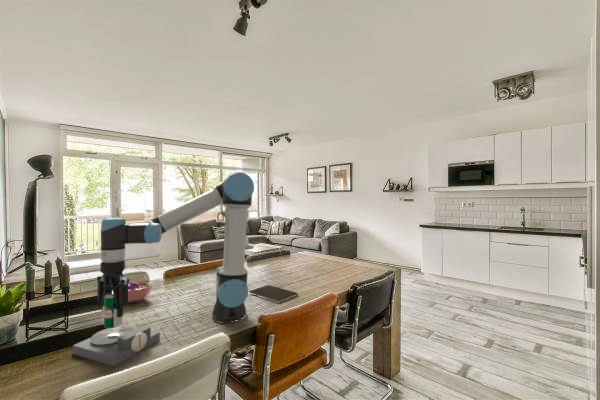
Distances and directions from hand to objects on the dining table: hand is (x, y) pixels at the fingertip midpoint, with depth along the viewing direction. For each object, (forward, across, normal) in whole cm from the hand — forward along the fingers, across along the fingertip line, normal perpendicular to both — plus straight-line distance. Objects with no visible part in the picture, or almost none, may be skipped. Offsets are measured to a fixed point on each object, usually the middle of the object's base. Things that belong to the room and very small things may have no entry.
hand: (112, 323), depth 103 cm
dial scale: (+8, +3, 0) cm, 8 cm away
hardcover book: (+8, +31, +71) cm, 78 cm away
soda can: (+1, 0, 0) cm, 1 cm away
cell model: (+8, -33, +34) cm, 48 cm away
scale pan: (+5, 0, 0) cm, 5 cm away
